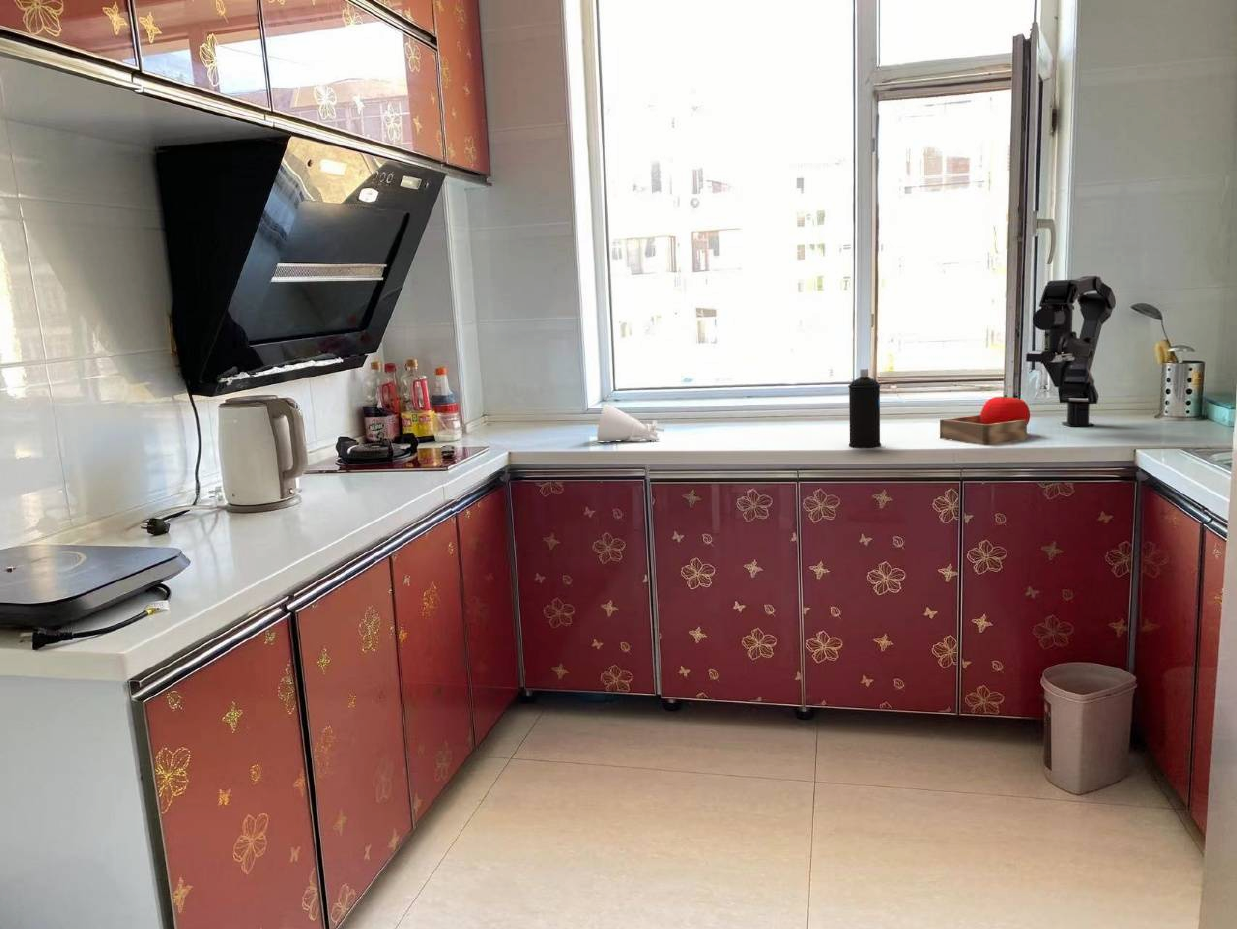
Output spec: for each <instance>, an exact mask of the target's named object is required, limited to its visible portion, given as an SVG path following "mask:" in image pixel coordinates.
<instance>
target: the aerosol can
mask: <svg viewBox="0 0 1237 929" xmlns="http://www.w3.org/2000/svg"><path fill="white" fill-rule="evenodd" d="M859 376H860V377H859V378H856V379H854V380H852V381H851V383H850V384H848V385H847V387H848V393H849V395H848V396H849V398H848V399H849V402H848V403H849V406H848V407H849V443H848V447H851V448H857V449H858V448H859V449H862V448H863V449H864V448H865V449H867V448H876V447H877V448H878V447H880V446H882V443H881V392H880V390H881V386H882V385H881V384H880V383H879V382H878V380H876V379H874V378H871V377H870V376H869V369H868V368H861V369H860V374H859Z"/></svg>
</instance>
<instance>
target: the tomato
mask: <svg viewBox="0 0 1237 929" xmlns="http://www.w3.org/2000/svg"><path fill="white" fill-rule="evenodd" d="M979 415H980V419H981V422H982V424H994V423H1001V422H1009V421H1017V420H1027V426H1028V425H1029V424H1030V420H1031V410H1030V408H1029V406H1028V404H1027V403H1026V401H1025V400H1022V399H1020V398H1016V397H1012V396H1009V397H1008V395H1006V394H1005V395H1004V396H995V397H991V398H990V399H988V400H987V401H985V403H984V404H983V406H982V408H981V410H980V414H979Z"/></svg>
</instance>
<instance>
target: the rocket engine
mask: <svg viewBox="0 0 1237 929" xmlns="http://www.w3.org/2000/svg"><path fill="white" fill-rule="evenodd" d="M599 417H600V418H599V421H598V427H597V442H598V441H616V440H626V441H631V442H635V441H636V440H638V441H642V440H645V441H647V440H648V441H649V440H653V441H655V440H659V439H661V438H660V437H659V435H658V432H660V433H661V432H662V433H664V432H665V427H664V426H660V425H658V421H657V420H653V421H652V424H649V423H646V424H645V425H644V424H643V423H641V422H640V421H639V420H638V419H637V418H634V417H632V416H631V415H629V414H627V413H626V412H625V411H622V410H621V409H618V408H616V407H614V406H612V405H610V404H608V403H606V404H604V405H603V408H602V411H601V414H600V416H599ZM659 441H660V440H659Z"/></svg>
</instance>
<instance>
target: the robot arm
mask: <svg viewBox="0 0 1237 929" xmlns="http://www.w3.org/2000/svg"><path fill="white" fill-rule="evenodd" d="M1076 301H1077V303H1078V305H1079V311H1080V313H1081V316H1082V317H1083V322H1082V326H1081V330H1080V333H1079V337H1077V332H1076V331H1073V315H1074V314H1073V311H1074V310H1075V305H1074V304H1075V302H1076ZM1116 303H1117V300H1116V296H1115V294H1114V291H1113V289H1112V288H1111V287H1110V286H1108V285H1107V284H1105V283H1104V282H1103V280H1102V279H1101V277H1100V276H1097V275H1091V276H1089V275H1086V276H1082V277H1079V278H1077V279H1076V278H1075V279H1059V280H1049V281H1048V282H1047V283H1046V285H1045V286H1044V289H1043V292H1042V295H1041V298H1040V300H1039V304H1038V307H1039V309H1037V311H1035V313H1034V314H1033V318H1032V323H1033V325H1034V326H1035V327H1036V329H1038V330H1039V331H1046V332H1044V337H1047V347H1044V350H1043V349H1042V350H1039V349H1038V350H1028V352H1027V353H1026V354H1025V356H1026V357H1025V362H1030V363H1040V364H1042V365H1043V366H1044V369H1045V370H1046V372H1047V374H1048V376H1049V377H1050V379H1051V381H1052V384H1053V386H1054V387H1055V388H1057V390H1058V398H1059V403H1060V404H1066V421H1062V422H1061V424H1062V425H1066V426H1068V427H1089V426H1091V427H1092V426H1095V423H1092V422H1090V409H1091V405H1097V404H1098V400H1099V393H1098V391H1097V389H1096V386H1095V379H1094V377H1093V375H1092V372H1091V371H1092V370H1091V369H1092V365H1093V361H1094V357H1095V353H1096V351H1097V350H1096V349H1097V346H1098V343H1099V337H1100V334H1101V329H1102V327H1103V325H1104V323H1106V321H1107V320H1109V319H1110V318H1111V316H1112V313H1113V312H1114V311H1113V310H1114V309H1115V308H1116V305H1117V304H1116ZM1047 330H1048V331H1047Z"/></svg>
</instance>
